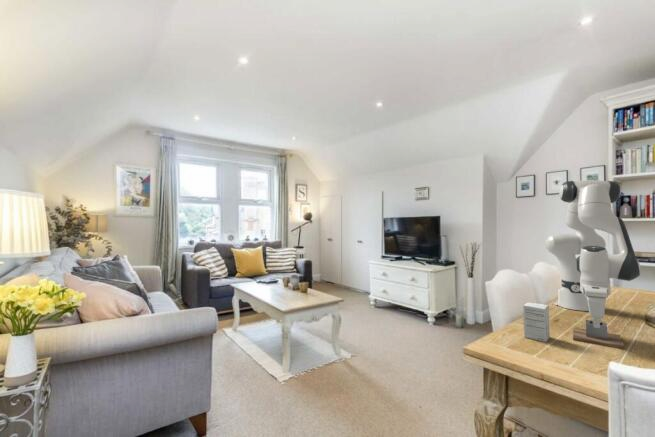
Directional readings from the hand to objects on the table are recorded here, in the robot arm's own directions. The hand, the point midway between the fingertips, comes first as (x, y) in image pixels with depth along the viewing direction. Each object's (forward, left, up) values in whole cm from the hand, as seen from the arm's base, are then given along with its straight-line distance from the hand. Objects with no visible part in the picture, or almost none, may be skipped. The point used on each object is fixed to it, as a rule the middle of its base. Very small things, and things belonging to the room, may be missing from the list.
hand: (596, 324), depth 116 cm
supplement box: (+12, -18, -6) cm, 22 cm away
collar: (0, 0, -5) cm, 5 cm away
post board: (0, 0, -6) cm, 6 cm away
